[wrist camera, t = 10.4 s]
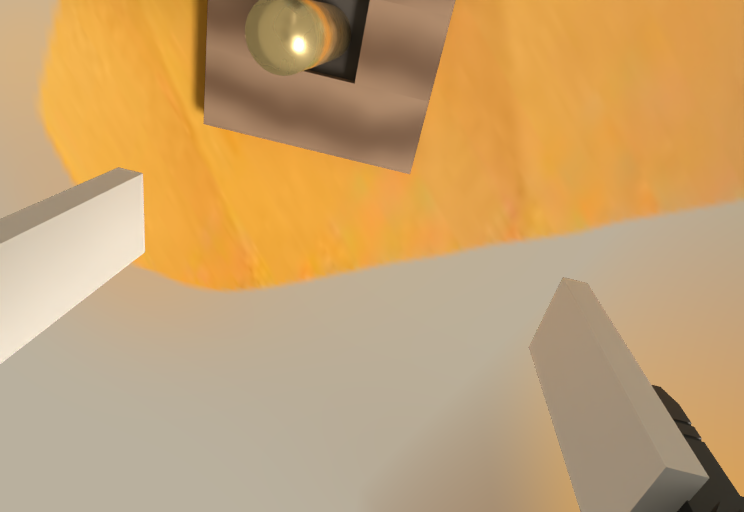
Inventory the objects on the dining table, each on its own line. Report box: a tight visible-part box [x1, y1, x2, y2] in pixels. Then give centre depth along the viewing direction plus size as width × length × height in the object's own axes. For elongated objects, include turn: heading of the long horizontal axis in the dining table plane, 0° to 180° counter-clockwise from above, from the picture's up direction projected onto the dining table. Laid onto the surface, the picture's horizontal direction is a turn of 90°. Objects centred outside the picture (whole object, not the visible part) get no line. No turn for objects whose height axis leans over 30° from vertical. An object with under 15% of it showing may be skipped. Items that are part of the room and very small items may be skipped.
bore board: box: [204, 0, 455, 174], centre depth 35 cm, size 18×18×2 cm
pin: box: [245, 0, 351, 76], centre depth 30 cm, size 4×4×12 cm
